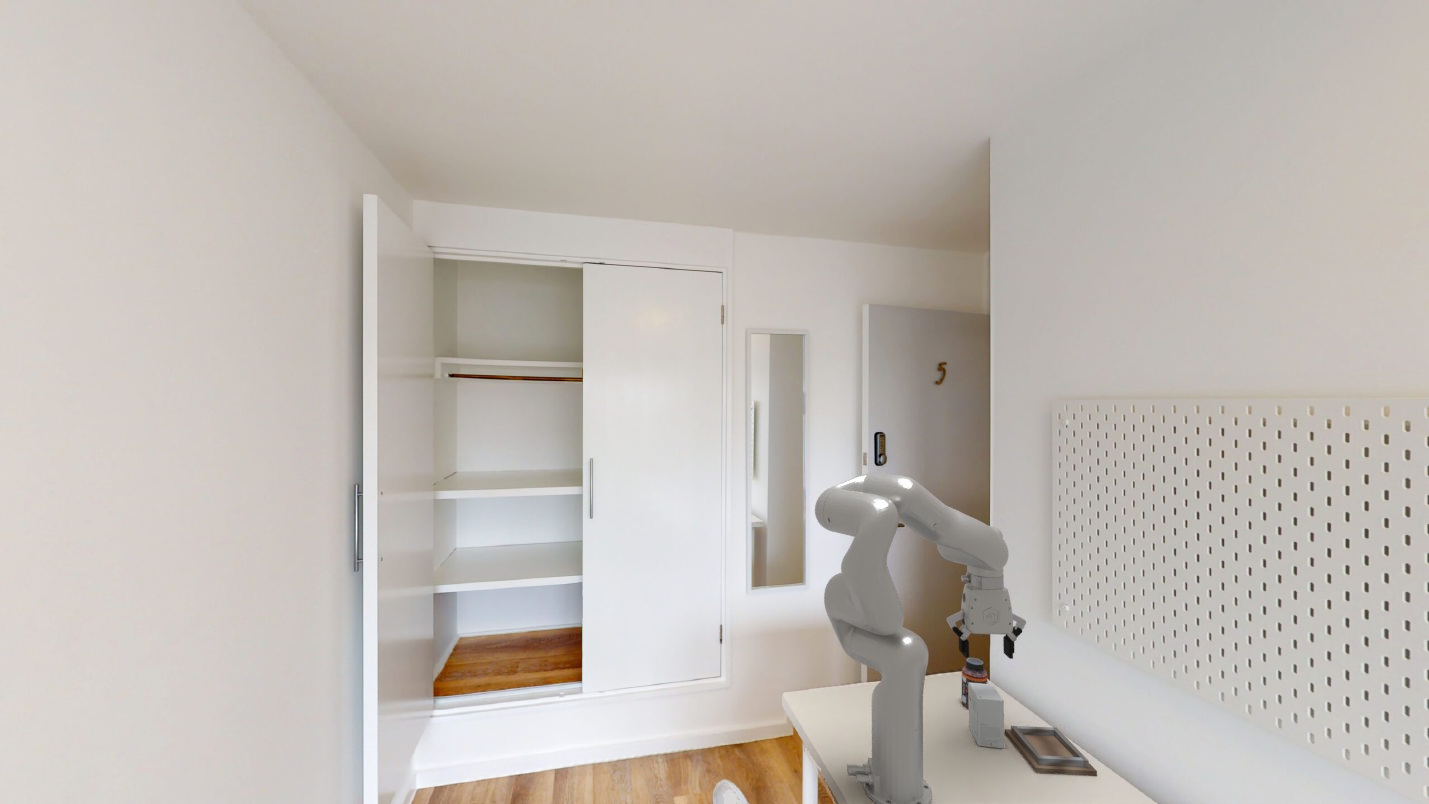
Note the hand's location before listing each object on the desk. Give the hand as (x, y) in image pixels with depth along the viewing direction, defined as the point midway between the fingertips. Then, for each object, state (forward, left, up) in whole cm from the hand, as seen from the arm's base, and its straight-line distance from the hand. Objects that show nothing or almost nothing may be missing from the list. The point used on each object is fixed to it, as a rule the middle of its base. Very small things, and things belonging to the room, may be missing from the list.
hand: (986, 655), depth 126 cm
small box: (0, 0, -19) cm, 19 cm away
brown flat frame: (+11, -5, -18) cm, 22 cm away
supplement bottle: (+3, +14, -19) cm, 23 cm away
